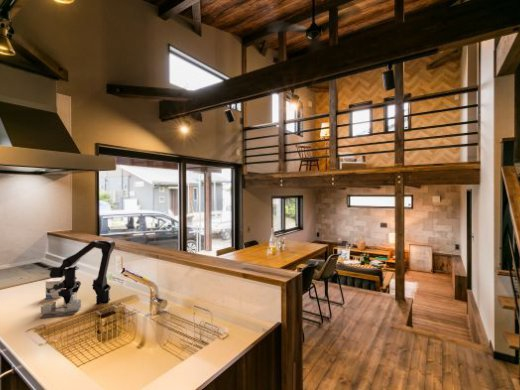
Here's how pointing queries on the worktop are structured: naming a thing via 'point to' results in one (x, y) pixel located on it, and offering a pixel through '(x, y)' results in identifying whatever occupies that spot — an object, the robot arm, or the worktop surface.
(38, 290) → the worktop surface
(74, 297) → the logic module
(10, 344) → the worktop surface
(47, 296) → the ink box
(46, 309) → the din rail
